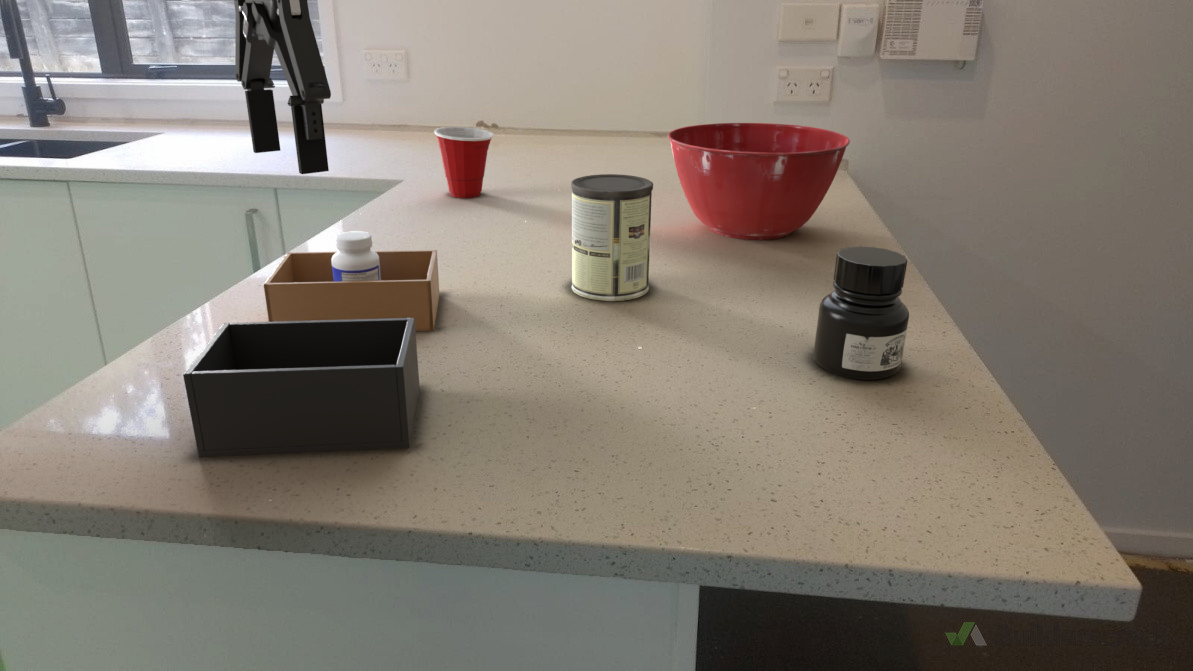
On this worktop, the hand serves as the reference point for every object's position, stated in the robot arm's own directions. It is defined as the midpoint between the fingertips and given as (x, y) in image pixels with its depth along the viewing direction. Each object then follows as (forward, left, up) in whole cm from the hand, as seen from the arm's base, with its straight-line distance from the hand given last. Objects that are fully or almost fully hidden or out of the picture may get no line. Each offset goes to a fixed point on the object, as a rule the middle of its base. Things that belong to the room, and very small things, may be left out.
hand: (289, 161), depth 88 cm
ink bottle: (+59, -14, -19) cm, 63 cm away
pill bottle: (+5, +5, -19) cm, 21 cm away
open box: (+5, -22, -19) cm, 29 cm away
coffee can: (+36, +12, -19) cm, 43 cm away
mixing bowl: (+63, +40, -19) cm, 77 cm away
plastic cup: (+16, +67, -19) cm, 72 cm away
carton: (+5, +5, -19) cm, 20 cm away
